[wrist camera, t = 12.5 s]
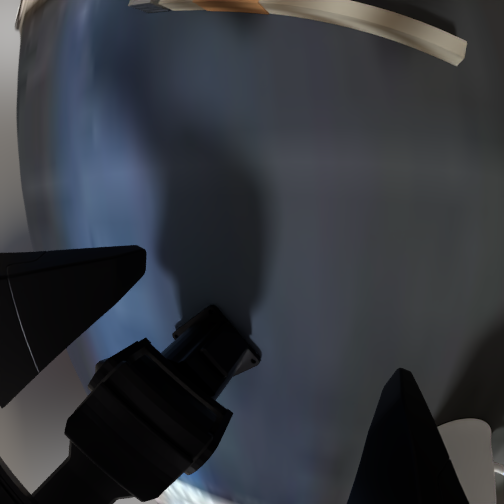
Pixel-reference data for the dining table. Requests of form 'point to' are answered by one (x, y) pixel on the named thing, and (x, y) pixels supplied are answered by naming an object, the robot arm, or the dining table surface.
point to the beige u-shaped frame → (334, 20)
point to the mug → (472, 458)
